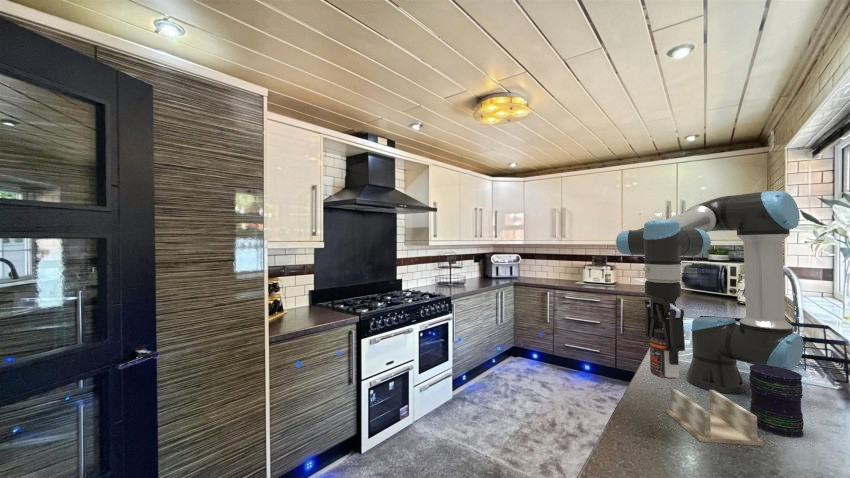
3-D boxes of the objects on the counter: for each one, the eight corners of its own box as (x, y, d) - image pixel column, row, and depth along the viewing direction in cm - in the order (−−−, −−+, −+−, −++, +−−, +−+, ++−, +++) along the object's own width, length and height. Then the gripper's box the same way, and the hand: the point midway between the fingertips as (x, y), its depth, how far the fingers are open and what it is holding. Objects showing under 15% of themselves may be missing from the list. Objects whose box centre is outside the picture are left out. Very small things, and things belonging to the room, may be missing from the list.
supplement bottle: (644, 371, 89) (643, 328, 89) (666, 370, 89) (664, 327, 89) (662, 380, 83) (661, 334, 83) (685, 379, 83) (684, 333, 83)
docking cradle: (665, 411, 99) (665, 387, 99) (719, 414, 97) (718, 390, 97) (699, 441, 84) (699, 413, 84) (763, 445, 82) (762, 416, 82)
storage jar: (811, 442, 83) (809, 381, 83) (756, 431, 88) (755, 373, 88) (795, 424, 91) (793, 368, 92) (745, 414, 96) (744, 362, 97)
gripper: (629, 276, 96) (631, 358, 96) (666, 285, 77) (669, 386, 77) (658, 276, 95) (660, 359, 95) (703, 285, 76) (705, 388, 76)
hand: (664, 371), depth 86 cm, fingers closed on supplement bottle, 6 cm apart
